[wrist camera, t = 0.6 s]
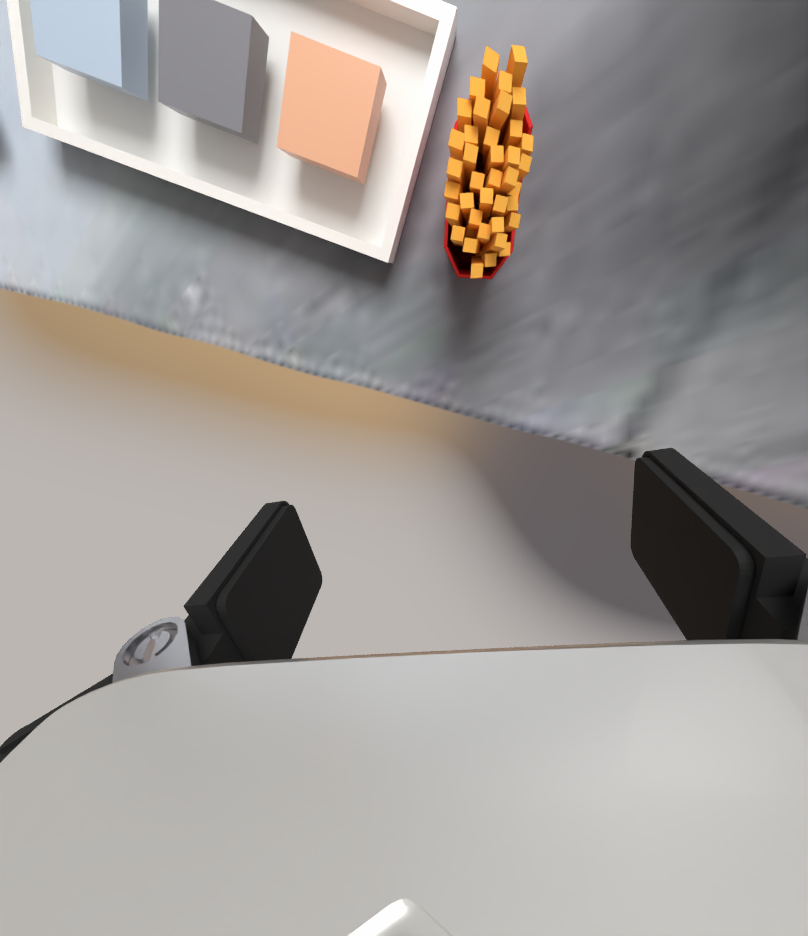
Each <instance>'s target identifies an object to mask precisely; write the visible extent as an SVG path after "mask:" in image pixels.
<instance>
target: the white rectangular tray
mask: <svg viewBox="0 0 808 936" xmlns="http://www.w3.org/2000/svg"><path fill="white" fill-rule="evenodd" d="M215 1H217V2H220V3H222V4H225V5H227V6H230V7H232V8H235V9H237V10H240V11H242V12H245V13H247V14H250V15H252V16H253V17H254V19H255V20H256V21H257V22H258V24H259V25H260V26H261V27H262V29H263V30H264V31H265V33H266V34H267V35H268V36H269V44H268V54H267V63H266V72H265V82H264V91H263V101H262V110H261V119H260V129H259V138H258V144H257V143H254V142H251V141H249V140H246V139H244V138H241V137H238V136H236V135H233V134H230V133H228V132H225V131H223V130H220V129H217V128H215V127H212V126H210V125H207V124H204V123H202V122H199V121H196V120H194V119H191V118H189V117H186V116H183V115H181V114H179V113H177V112H176V111H174V110H172V109H171V108H169V107H167V106H165V105H164V104H162V103H160V102H158V51H159V0H148V102H147V101H144V100H142V99H139V98H136V97H134V96H131V95H129V94H126V93H123V92H121V91H118V90H115V89H113V88H110V87H108V86H105V85H102V84H100V83H97V82H95V81H92V80H89V79H87V78H84V77H81V76H79V75H76V74H74V73H71V72H69V71H67V70H65V69H63V68H61V67H59V66H57V65H55V64H53V63H51V62H49V61H47V60H45V59H43V58H42V57H40V56H38V55H36V52H35V43H34V34H33V24H32V15H31V6H30V0H7V8H8V15H9V23H10V31H11V39H12V47H13V55H14V62H15V70H16V78H17V86H18V94H19V101H20V109H21V117H22V125H23V127H25V128H27V129H30V130H33V131H35V132H38V133H41V134H44V135H46V136H49V137H52V138H54V139H57V140H60V141H62V142H65V143H68V144H70V145H73V146H76V147H78V148H81V149H84V150H86V151H89V152H92V153H95V154H97V155H100V156H103V157H105V158H108V159H111V160H113V161H116V162H119V163H121V164H124V165H127V166H129V167H132V168H135V169H137V170H140V171H143V172H146V173H148V174H151V175H154V176H156V177H159V178H162V179H164V180H167V181H170V182H172V183H175V184H178V185H180V186H183V187H186V188H188V189H191V190H194V191H197V192H199V193H202V194H205V195H207V196H210V197H213V198H215V199H218V200H221V201H223V202H226V203H229V204H231V205H234V206H237V207H239V208H242V209H245V210H248V211H250V212H253V213H256V214H258V215H261V216H264V217H266V218H269V219H272V220H274V221H277V222H280V223H282V224H285V225H288V226H290V227H293V228H296V229H299V230H301V231H304V232H307V233H309V234H312V235H315V236H317V237H320V238H323V239H325V240H328V241H331V242H333V243H336V244H339V245H341V246H344V247H347V248H349V249H352V250H355V251H358V252H360V253H363V254H366V255H368V256H371V257H374V258H376V259H379V260H382V261H384V262H387V263H394V259H395V256H396V252H397V248H398V245H399V241H400V237H401V234H402V230H403V227H404V223H405V219H406V216H407V212H408V208H409V205H410V201H411V198H412V194H413V190H414V187H415V183H416V179H417V176H418V172H419V168H420V165H421V161H422V158H423V154H424V150H425V147H426V143H427V139H428V136H429V132H430V129H431V125H432V121H433V118H434V114H435V110H436V107H437V103H438V99H439V96H440V92H441V89H442V85H443V81H444V78H445V74H446V70H447V67H448V63H449V59H450V56H451V52H452V49H453V45H454V41H455V38H456V26H457V7H455V6H453V5H451V4H448V3H446V2H443V1H441V0H215ZM291 31H292V32H295V33H297V34H300V35H302V36H305V37H307V38H310V39H312V40H315V41H317V42H320V43H322V44H325V45H327V46H330V47H332V48H335V49H337V50H340V51H342V52H345V53H347V54H350V55H352V56H355V57H357V58H360V59H362V60H365V61H367V62H370V63H372V64H375V65H377V66H380V67H381V69H382V72H383V74H384V77H385V80H386V83H387V86H386V90H385V95H384V99H383V104H382V108H381V113H380V117H379V122H378V126H377V131H376V135H375V140H374V144H373V149H372V153H371V158H370V162H369V167H368V171H367V176H366V180H365V185H364V184H361V183H359V182H356V181H353V180H351V179H348V178H346V177H343V176H340V175H338V174H335V173H332V172H330V171H327V170H325V169H322V168H319V167H317V166H314V165H312V164H309V163H306V162H304V161H301V160H298V159H296V158H293V157H291V156H289V155H288V154H286V153H285V152H283V151H282V150H280V149H279V148H278V147H277V140H278V132H279V124H280V116H281V108H282V100H283V92H284V84H285V76H286V68H287V60H288V52H289V44H290V36H291Z"/></svg>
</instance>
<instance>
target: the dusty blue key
mask: <svg viewBox="0 0 808 936" xmlns="http://www.w3.org/2000/svg"><path fill="white" fill-rule="evenodd" d="M30 6H31V15H32V24H33V34H34V43H35V52H36V55H38V56H40V57H42V58H43V59H45V60H47V61H49V62H51V63H53V64H55V65H57V66H59V67H61V68H63V69H65V70H67V71H69V72H71V73H74V74H76V75H79V76H81V77H84V78H87V79H89V80H92V81H95V82H97V83H100V84H102V85H105V86H108V87H110V88H113V89H115V90H118V91H121V92H123V93H126V94H129V95H131V96H134V97H136V98H139V99H142V100H144V101H147V102H148V0H30Z"/></svg>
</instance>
